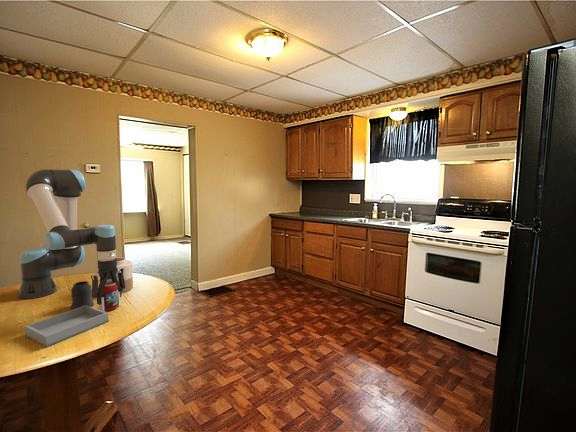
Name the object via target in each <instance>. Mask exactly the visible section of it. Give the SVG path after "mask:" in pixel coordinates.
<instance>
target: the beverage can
mask: <svg viewBox="0 0 576 432" xmlns="http://www.w3.org/2000/svg"><path fill="white" fill-rule="evenodd" d="M102 297H104V310H105V312H110V311H113V310H116V309H117V308H118V307H119V305H118V288H117V285H116V283H115V282H106V283H105V287H104V290H103V294H102Z"/></svg>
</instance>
